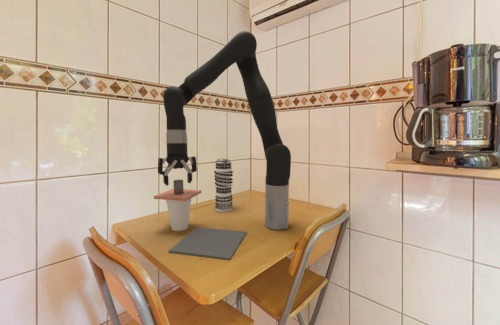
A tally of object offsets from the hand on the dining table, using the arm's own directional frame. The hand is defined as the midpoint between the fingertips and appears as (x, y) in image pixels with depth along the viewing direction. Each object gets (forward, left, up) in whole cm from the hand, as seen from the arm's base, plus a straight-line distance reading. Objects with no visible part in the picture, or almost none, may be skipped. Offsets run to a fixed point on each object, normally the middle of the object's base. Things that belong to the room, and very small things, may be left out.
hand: (178, 183), depth 92 cm
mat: (-17, +9, -18) cm, 26 cm away
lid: (0, 0, -5) cm, 5 cm away
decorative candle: (-9, -27, -18) cm, 34 cm away
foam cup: (0, 0, -18) cm, 18 cm away
